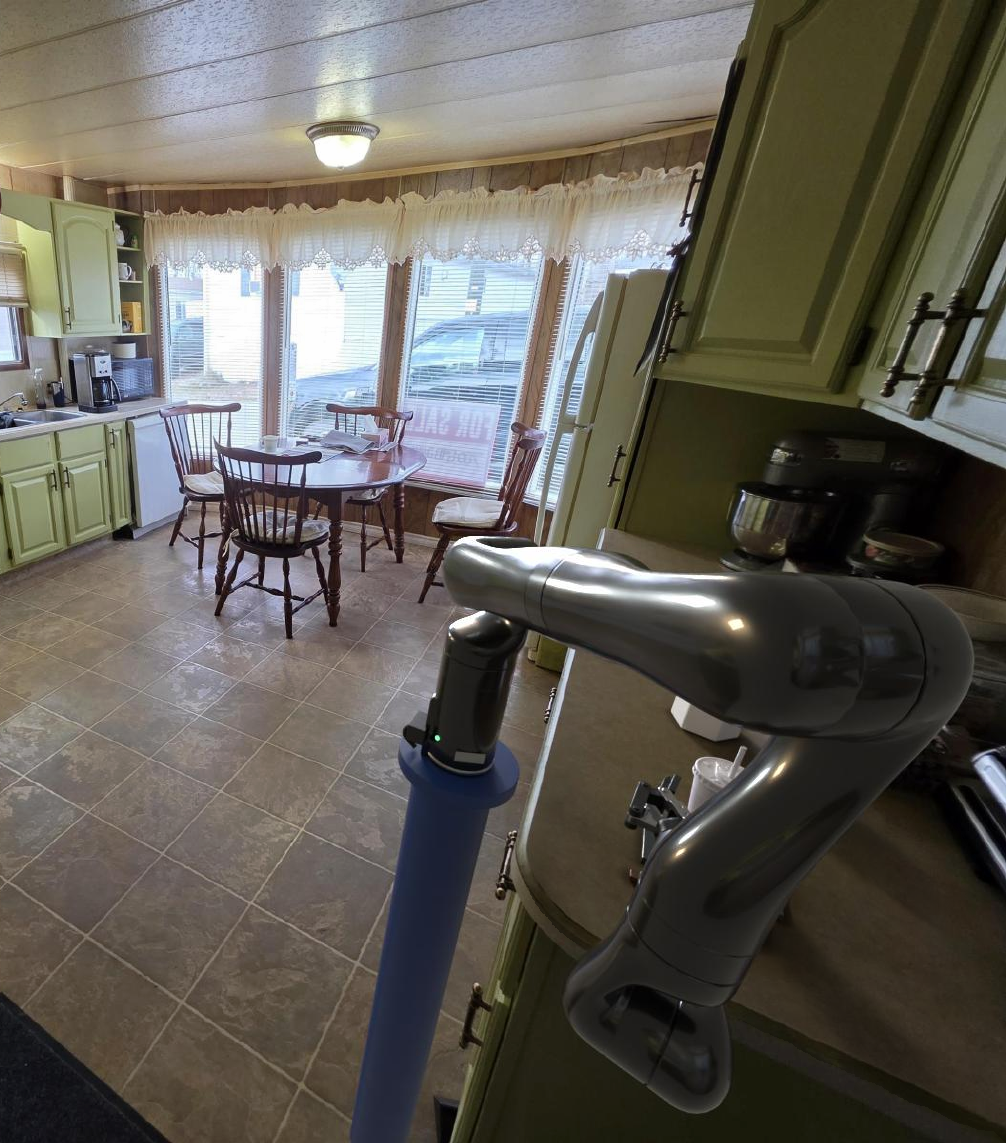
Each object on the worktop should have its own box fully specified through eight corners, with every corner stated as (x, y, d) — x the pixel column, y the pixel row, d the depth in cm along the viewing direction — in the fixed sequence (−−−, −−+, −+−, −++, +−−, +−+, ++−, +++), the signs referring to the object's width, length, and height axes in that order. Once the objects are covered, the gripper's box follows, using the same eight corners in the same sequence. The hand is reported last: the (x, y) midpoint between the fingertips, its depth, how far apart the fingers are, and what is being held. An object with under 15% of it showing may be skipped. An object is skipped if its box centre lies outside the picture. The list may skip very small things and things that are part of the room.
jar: (705, 745, 91) (732, 678, 87) (658, 713, 99) (681, 649, 94) (750, 736, 94) (779, 670, 89) (701, 706, 101) (725, 643, 96)
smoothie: (684, 853, 72) (724, 758, 66) (661, 813, 77) (696, 723, 72) (745, 863, 70) (790, 767, 65) (716, 821, 76) (756, 731, 71)
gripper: (805, 912, 50) (818, 810, 61) (616, 817, 59) (656, 743, 70) (771, 971, 53) (790, 864, 64) (596, 872, 62) (638, 793, 73)
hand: (720, 801), depth 67 cm, fingers open, 8 cm apart
